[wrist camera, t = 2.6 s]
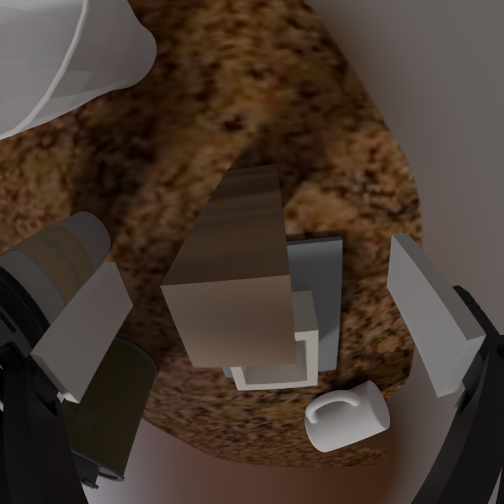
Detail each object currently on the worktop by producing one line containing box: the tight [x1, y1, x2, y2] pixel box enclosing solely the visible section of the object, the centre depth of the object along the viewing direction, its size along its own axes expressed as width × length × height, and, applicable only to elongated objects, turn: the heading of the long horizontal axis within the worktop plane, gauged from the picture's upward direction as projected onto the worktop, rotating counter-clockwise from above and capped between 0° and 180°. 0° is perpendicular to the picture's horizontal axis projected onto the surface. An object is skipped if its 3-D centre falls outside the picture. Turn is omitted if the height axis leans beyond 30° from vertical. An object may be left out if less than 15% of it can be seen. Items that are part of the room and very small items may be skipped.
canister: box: [61, 336, 158, 489], centre depth 27 cm, size 11×10×20 cm
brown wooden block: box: [160, 164, 297, 367], centre depth 16 cm, size 4×4×16 cm
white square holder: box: [230, 290, 318, 390], centre depth 27 cm, size 8×8×6 cm
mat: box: [222, 236, 342, 377], centre depth 30 cm, size 18×14×1 cm
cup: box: [0, 0, 157, 140], centre depth 12 cm, size 10×10×14 cm
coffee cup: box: [0, 211, 111, 358], centre depth 20 cm, size 9×9×15 cm
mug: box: [305, 380, 390, 452], centre depth 33 cm, size 12×10×8 cm
